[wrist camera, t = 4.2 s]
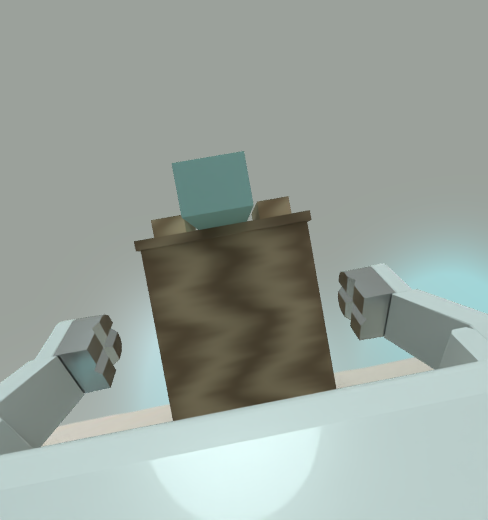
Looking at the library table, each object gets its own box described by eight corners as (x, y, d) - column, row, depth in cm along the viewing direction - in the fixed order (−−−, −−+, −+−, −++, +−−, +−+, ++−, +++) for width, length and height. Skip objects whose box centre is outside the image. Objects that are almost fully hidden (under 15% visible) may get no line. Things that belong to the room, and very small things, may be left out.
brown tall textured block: (192, 549, 24) (129, 217, 23) (208, 437, 38) (169, 231, 38) (362, 512, 24) (305, 186, 24) (313, 415, 39) (277, 212, 38)
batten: (181, 217, 16) (171, 163, 16) (210, 238, 36) (206, 214, 35) (253, 205, 16) (243, 151, 16) (242, 233, 36) (237, 209, 36)
